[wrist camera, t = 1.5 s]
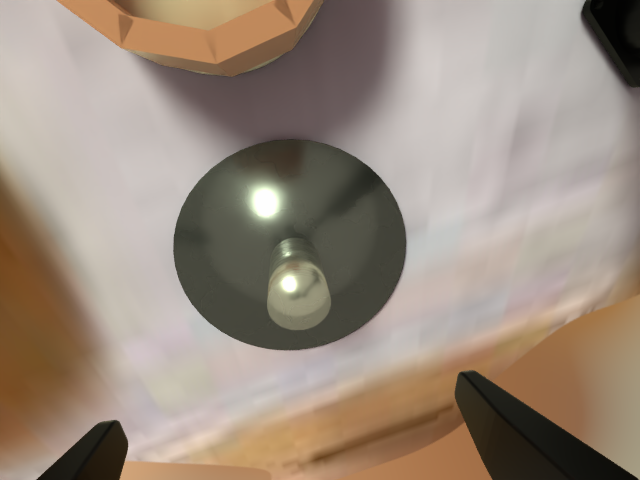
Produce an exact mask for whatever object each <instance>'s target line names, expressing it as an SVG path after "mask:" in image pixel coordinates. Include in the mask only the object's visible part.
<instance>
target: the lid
mask: <svg viewBox="0 0 640 480" xmlns="http://www.w3.org/2000/svg"><path fill="white" fill-rule="evenodd" d="M405 247H406V238H405V228H404V223H403V219H402V215H401V212H400V210H399V207H398V204H397V202H396V200H395V198H394V197H393V195H392V193H391V191H390V189H389V188H388V187H387V186H386V184H385V183H384V182H383V180H382V179H381V178H380V177H379V176H378V175H377V174H376V173H375V172H374V171H373V170H372V169H371V168H370V167H369V166H367V165H366V164H364V163H363V162H362V161H360V160H359V159H357V158H356V157H354V156H352V155H350V154H348V153H346V152H345V151H343V150H341V149H338V148H335V147H332V146H330V145H327V144H323V143H318V142H314V141H309V140H294V139H289V140H275V141H270V142H265V143H260V144H256V145H253V146H251V147H248V148H245V149H242V150H240V151H238V152H236V153H234V154H233V155H231V156H229V157H227V158H225V159H224V160H223V161H221V162H220V163H218V164H217V165H216V166H214V167H213V168H212V169H210V170H209V171H208V172H207V173H206V174H205V175H204V176H203V177H202V178H201V179H200V180H199V181H198V183H197V184H196V185H195V187H194V188H193V189H192V191H191V192H190V193H189V195H188V197H187V199H186V201H185V203H184V205H183V206H182V208H181V211H180V214H179V217H178V220H177V223H176V228H175V234H174V250H173V252H174V260H175V267H176V271H177V274H178V278H179V281H180V283H181V285H182V287H183V290H184V292H185V294H186V295H187V297H188V298H189V300H190V302H191V303H192V305H193V306H194V307H195V308H196V309H197V311H198V312H199V313H200V314H201V315H202V316H203V317H204V318H205V319H206V320H207V321H208V322H209V323H210V324H212V325H213V326H215V327H216V328H217V329H219V330H220V331H221V332H223V333H225V334H227V335H229V336H230V337H232V338H234V339H237V340H239V341H241V342H244V343H247V344H250V345H253V346H257V347H262V348H267V349H275V350H300V349H307V348H313V347H317V346H321V345H325V344H328V343H331V342H333V341H336V340H338V339H340V338H343V337H345V336H347V335H349V334H350V333H352V332H353V331H355V330H357V329H358V328H360V327H361V326H362V325H364V324H365V323H366V322H368V321H369V320H370V319H371V318H372V317H373V316H374V315H375V314H376V313H377V312H378V311H379V310H380V309H381V307H382V306H383V305H384V304H385V303H386V301H387V300H388V298H389V297H390V295H391V293H392V292H393V290H394V288H395V286H396V284H397V282H398V280H399V277H400V274H401V271H402V268H403V263H404V258H405Z"/></svg>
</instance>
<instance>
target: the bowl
mask: <svg viewBox="0 0 640 480" xmlns="http://www.w3.org/2000/svg"><path fill="white" fill-rule="evenodd" d="M57 1H58V2H59V3H61V4H62V5H63V6H65V7H66V8H67V9H69V10H70V11H72V12H73V13H74V14H76V15H77V16H78V17H80V18H81V19H82V20H84V21H85V22H86V23H88V24H89V25H90V26H92V27H93V28H95V29H96V30H97V31H99V32H100V33H101V34H103V35H104V36H105V37H107V38H108V39H109V40H111V41H112V42H114V43H115V44H116V45H118V46H119V47H120V48H122V49H125V50H127V51H129V52H132V53H134V54H137V55H139V56H141V57H144V58H146V59H148V60H151V61H153V62H155V63H158V64H160V65H163V66H168V67H174V68H181V69H185V70H188V71H192V72H197V73H201V74H208V75H223V76H230V77H234V76H236V75H238V74H240V73H245V72H250V71H253V70H255V69H258V68H261V67H263V66H265V65H267V64H269V63H271V62H273V61H274V60H276V59H278V58H279V57H280V56H282V55H283V54H284V53H286V52H288V51H291V50H293V48H294V47H295V45H296V44H297V42H298V41H299V39H300V38H301V37H302V36H303V34H304V33H305V32H306V30H307V29H308V28H309V26H310V25H311V23H312V21H313V20H314V18H315V16H316V14H317V13H318V11H319V9H320V7H321V5H322V3H323V2H324V0H57Z"/></svg>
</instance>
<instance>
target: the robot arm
mask: <svg viewBox="0 0 640 480" xmlns="http://www.w3.org/2000/svg"><path fill="white" fill-rule="evenodd" d="M595 2H596V8H595V7H594V4H595ZM583 13H584V16H585V17H586V19H587V20H588V22H589V23H590V25H591V27H592V28H593V30H594V31H595V33H596V34H597V36H598V37H599V39H600V41H601V42H602V44H603V45H604V47H605V48H606V50H607V51H608V53H609V54H610V56H611V58H612V59H613V61H614V62H615V64H616V65H617V67H618V68H619V70H620V72H621V73H622V75H623V76H624V78H625V79H626V81H627V82H628V84H629V86H631V87H633V88H636V87H640V0H586V1H585V3H584V6H583ZM455 399H456V402H457V404H458V407H459V409H460V411H461V413H462V416H463V418H464V420H465V423H466V425H467V427H468V429H469V432H470V434H471V436H472V438H473V441H474V443H475V445H476V448H477V450H478V452H479V454H480V456H481V459H482V461H483V463H484V465H485V467H486V468H487V470H488V472H489V474H490V476H491V478H492V479H493V480H638V478H636V477H635V476H633V475H632V474H630V473H629V472H627V471H626V470H624V469H623V468H621V467H620V466H618V465H617V464H615V463H614V462H612V461H611V460H609V459H608V458H606V457H605V456H603V455H602V454H600V453H599V452H597V451H596V450H594V449H593V448H591V447H590V446H588V445H587V444H585V443H583V442H582V441H580V440H579V439H577V438H576V437H574V436H573V435H571V434H570V433H568V432H567V431H565V430H564V429H562V428H561V427H559V426H558V425H556V424H555V423H553V422H552V421H550V420H549V419H547V418H546V417H544V416H543V415H541V414H540V413H538V412H537V411H535V410H533V409H532V408H531V407H529V406H528V405H526V404H524V403H523V402H521V401H520V400H519V399H517V398H515V397H514V396H512V395H511V394H509V393H508V392H506V391H505V390H503V389H502V388H500V387H498V386H497V385H496V384H494V383H493V382H491V381H490V380H488V379H487V378H485V377H484V376H482V375H481V374H479V373H478V372H476V371H473V370H469V371H462V372H460V373H459V374H458V377H457V383H456V388H455ZM127 451H128V440H127V437H126V435H125V433H124V431H123V428H122V426H121V424H120V422H119V421H117V420H111V421H103V422H100V423H98V424H97V425H95V426H94V427H93V428H92V429H91V430H90V431H89V432H88V433H87V434H85V435H84V436H83V437H82V438H81V439H80V440H79V441H78V442H77V443H76V444H75V445H73V446H72V447H71V448H70V449H69V450H68V451H67V452H66V453H65V454H64V455H63V456H62V457H60V458H59V459H58V460H57V461H56V462H55V463H54V464H53V465H52V466H51V467H50V468H48V469H47V470H46V471H45V472H44V473H43V474H42V475H41V476H40V477H39V478H38V479H36V480H119V479H120V476H121V472H122V469H123V465H124V462H125V458H126V455H127Z"/></svg>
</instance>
